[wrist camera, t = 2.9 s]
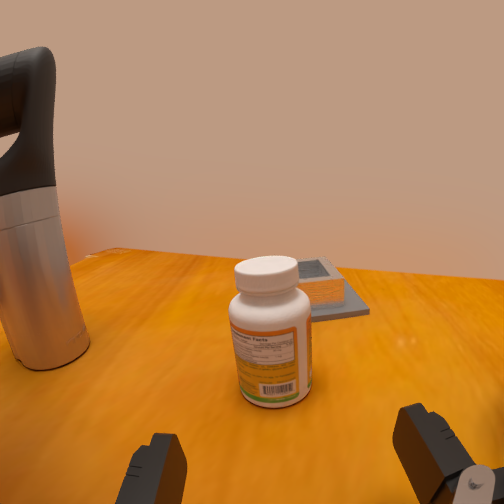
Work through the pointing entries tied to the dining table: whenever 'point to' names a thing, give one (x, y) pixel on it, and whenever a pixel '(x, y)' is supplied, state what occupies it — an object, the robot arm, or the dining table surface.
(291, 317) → the supplement bottle
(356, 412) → the dining table surface
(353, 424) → the dining table surface
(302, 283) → the socket board
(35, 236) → the robot arm
